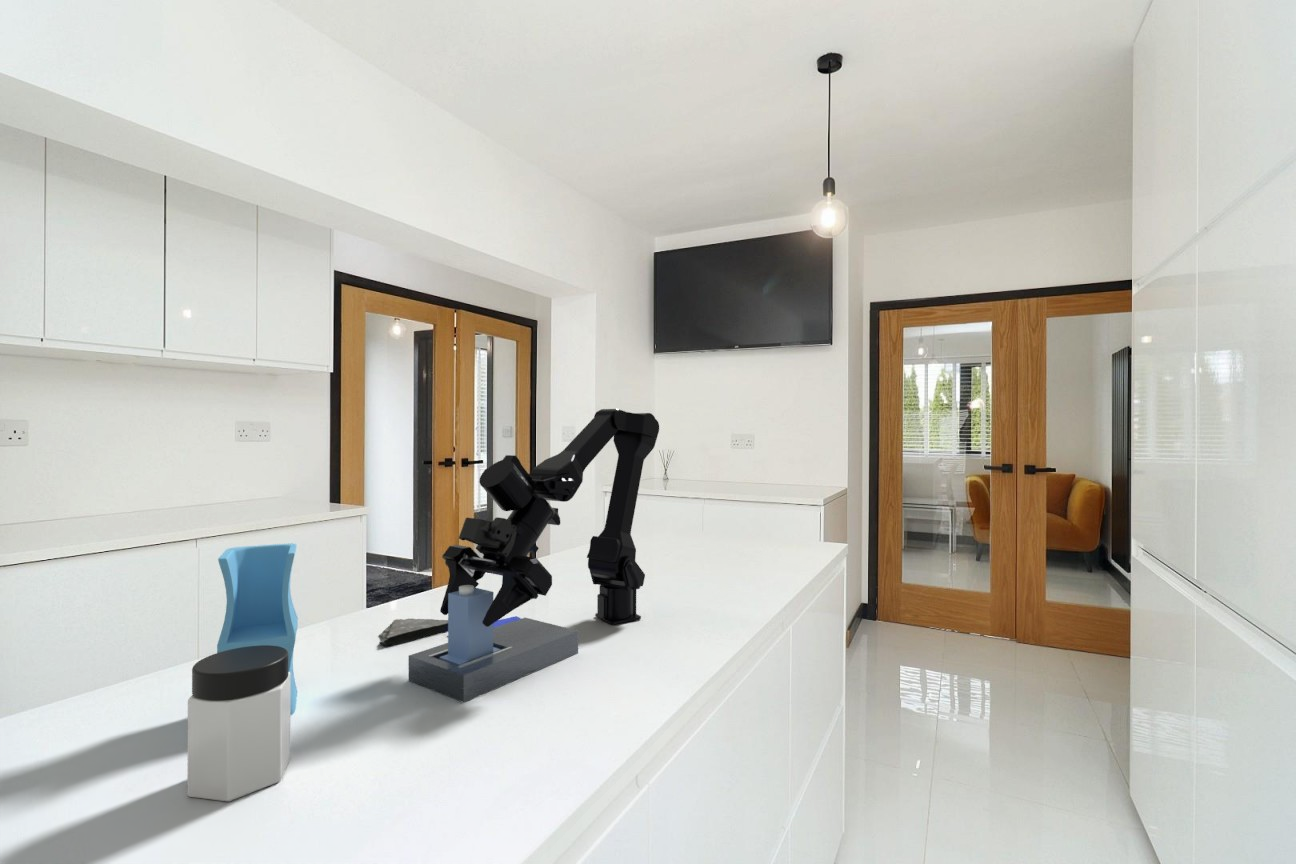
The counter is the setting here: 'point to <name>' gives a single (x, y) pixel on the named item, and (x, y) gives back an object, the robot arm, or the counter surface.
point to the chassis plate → (495, 659)
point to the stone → (412, 630)
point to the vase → (259, 600)
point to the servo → (468, 625)
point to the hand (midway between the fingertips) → (463, 619)
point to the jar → (238, 722)
